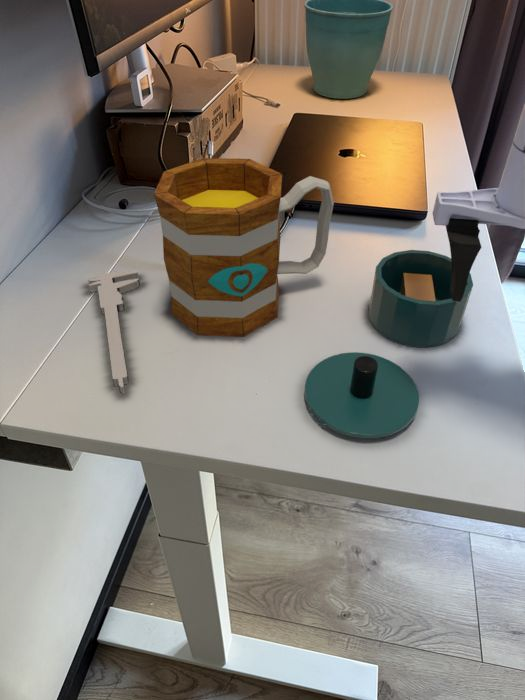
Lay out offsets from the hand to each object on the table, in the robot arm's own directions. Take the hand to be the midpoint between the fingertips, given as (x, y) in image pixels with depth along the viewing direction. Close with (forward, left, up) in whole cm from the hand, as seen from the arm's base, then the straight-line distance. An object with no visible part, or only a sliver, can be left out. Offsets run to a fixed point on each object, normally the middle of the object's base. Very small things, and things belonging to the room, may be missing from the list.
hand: (499, 298), depth 48 cm
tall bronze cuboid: (+5, -10, -10) cm, 15 cm away
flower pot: (+16, -90, -11) cm, 92 cm away
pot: (+5, -10, -10) cm, 15 cm away
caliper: (+36, -3, -10) cm, 38 cm away
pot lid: (+11, +4, -10) cm, 15 cm away
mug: (+24, -11, -11) cm, 29 cm away
